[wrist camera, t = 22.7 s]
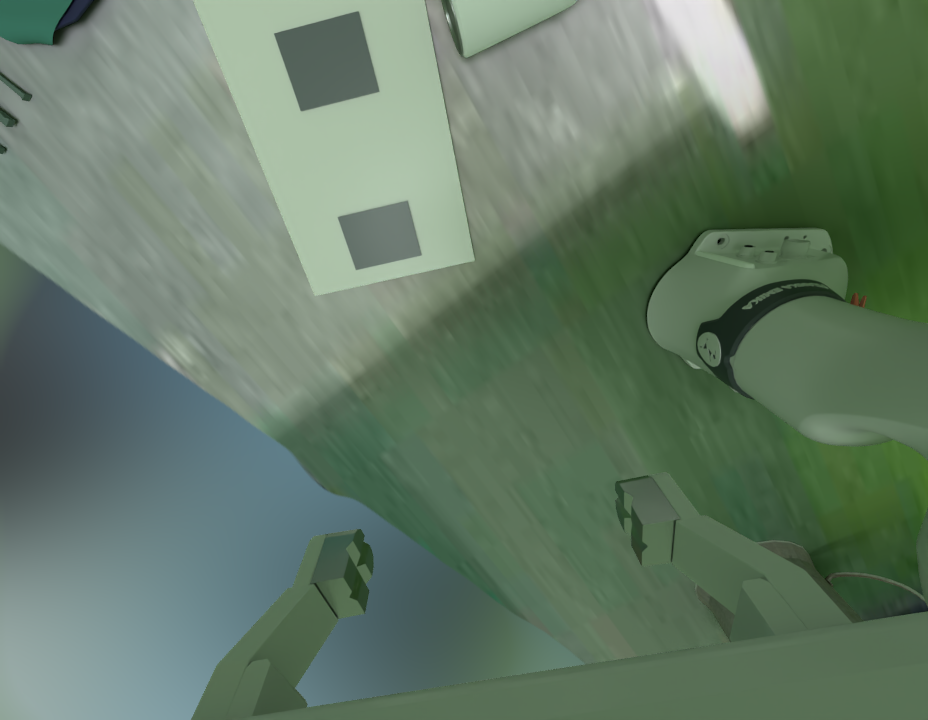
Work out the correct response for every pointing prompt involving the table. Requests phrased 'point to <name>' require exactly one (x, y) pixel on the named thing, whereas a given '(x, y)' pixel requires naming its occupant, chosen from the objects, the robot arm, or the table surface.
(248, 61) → the panel
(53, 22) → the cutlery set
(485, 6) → the can
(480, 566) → the table surface
